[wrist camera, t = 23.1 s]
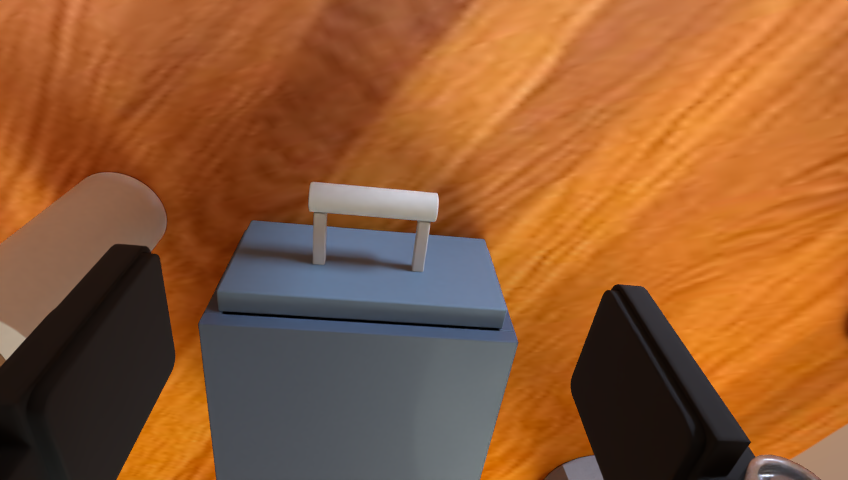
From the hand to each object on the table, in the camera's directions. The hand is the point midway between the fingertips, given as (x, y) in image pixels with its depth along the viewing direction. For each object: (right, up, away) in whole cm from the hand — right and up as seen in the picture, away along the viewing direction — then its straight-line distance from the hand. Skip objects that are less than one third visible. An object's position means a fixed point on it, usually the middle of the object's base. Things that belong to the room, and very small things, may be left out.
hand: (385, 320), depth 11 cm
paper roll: (-16, +3, +18) cm, 25 cm away
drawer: (-3, -2, +21) cm, 22 cm away
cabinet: (-3, -5, +24) cm, 25 cm away
